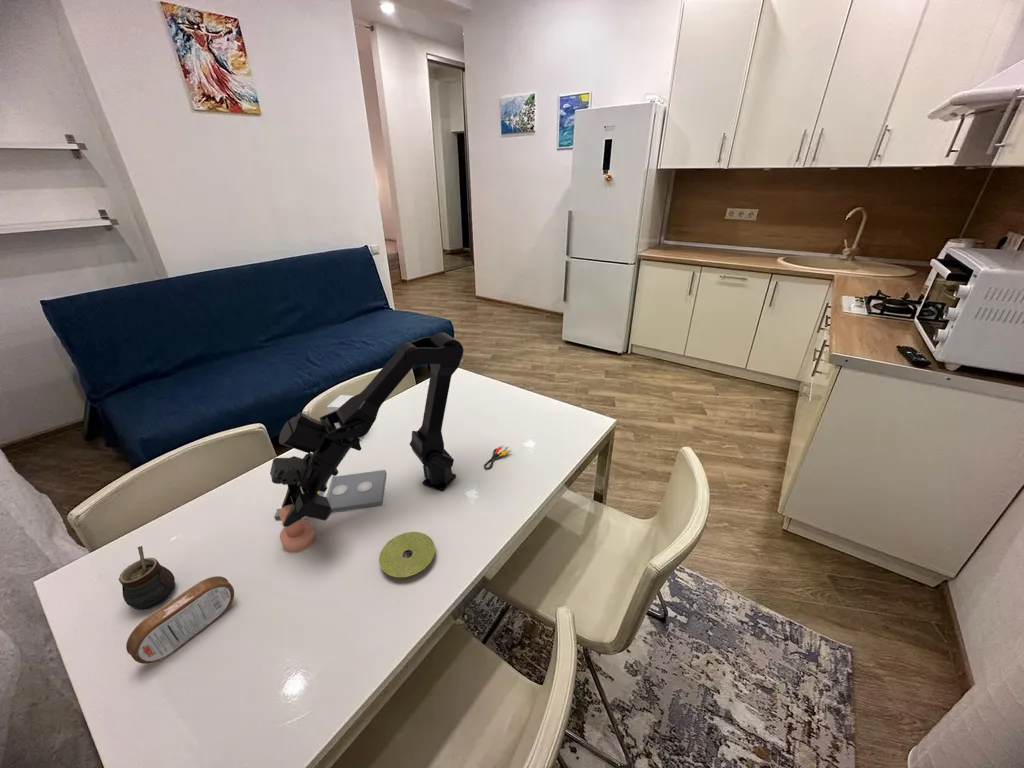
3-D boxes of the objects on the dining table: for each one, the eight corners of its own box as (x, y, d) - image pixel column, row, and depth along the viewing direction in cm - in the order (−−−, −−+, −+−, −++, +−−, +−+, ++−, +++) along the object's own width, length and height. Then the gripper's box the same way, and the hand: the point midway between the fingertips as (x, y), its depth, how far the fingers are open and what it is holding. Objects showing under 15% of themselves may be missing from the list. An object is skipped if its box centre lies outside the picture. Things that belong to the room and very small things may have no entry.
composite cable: (488, 472, 109) (487, 465, 108) (475, 465, 111) (475, 458, 110) (512, 454, 115) (512, 447, 114) (499, 448, 118) (499, 441, 117)
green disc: (372, 555, 85) (370, 549, 84) (421, 529, 91) (420, 523, 90) (393, 594, 77) (391, 587, 76) (445, 563, 83) (444, 556, 82)
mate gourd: (130, 624, 73) (102, 587, 69) (134, 593, 79) (109, 557, 74) (179, 601, 77) (156, 565, 72) (179, 573, 82) (158, 538, 78)
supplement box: (357, 445, 120) (348, 408, 115) (335, 442, 122) (325, 406, 116) (369, 431, 127) (362, 396, 121) (348, 429, 128) (339, 394, 122)
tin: (234, 594, 78) (219, 565, 74) (243, 603, 76) (227, 573, 72) (139, 666, 67) (114, 635, 63) (146, 677, 65) (122, 647, 61)
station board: (386, 473, 109) (384, 465, 107) (381, 505, 98) (379, 496, 97) (290, 486, 105) (287, 477, 104) (275, 520, 94) (272, 511, 93)
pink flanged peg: (321, 535, 90) (311, 504, 86) (297, 557, 85) (285, 526, 81) (301, 526, 93) (291, 496, 89) (276, 546, 88) (264, 516, 84)
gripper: (282, 425, 87) (239, 485, 86) (298, 470, 73) (247, 542, 73) (329, 442, 94) (290, 497, 94) (351, 486, 81) (306, 552, 80)
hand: (283, 519), depth 85 cm, fingers closed on pink flanged peg, 4 cm apart
